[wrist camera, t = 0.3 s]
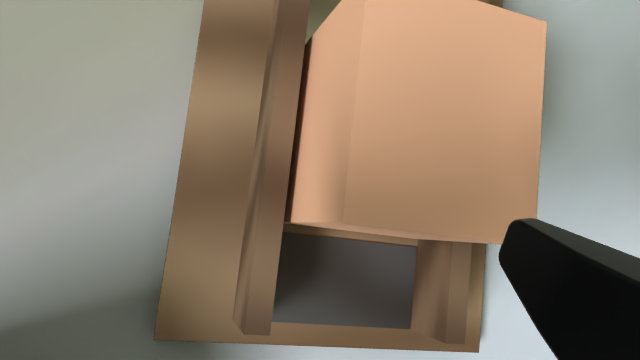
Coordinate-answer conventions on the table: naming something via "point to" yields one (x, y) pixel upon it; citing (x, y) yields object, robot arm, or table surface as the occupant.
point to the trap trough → (269, 208)
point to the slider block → (419, 120)
